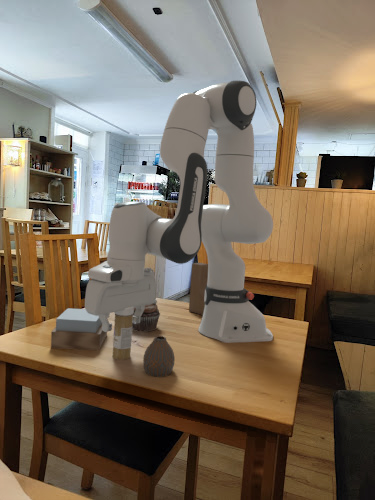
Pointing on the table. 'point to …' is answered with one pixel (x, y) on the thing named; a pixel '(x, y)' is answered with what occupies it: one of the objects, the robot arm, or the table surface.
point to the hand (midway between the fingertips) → (121, 326)
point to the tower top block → (77, 321)
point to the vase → (159, 358)
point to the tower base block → (78, 339)
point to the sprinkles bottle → (123, 333)
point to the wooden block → (198, 287)
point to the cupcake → (147, 318)
